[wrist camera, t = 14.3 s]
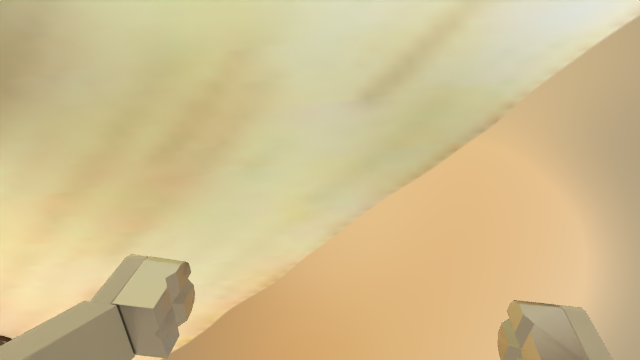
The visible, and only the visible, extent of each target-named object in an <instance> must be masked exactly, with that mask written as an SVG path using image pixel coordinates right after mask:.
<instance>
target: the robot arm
mask: <svg viewBox="0 0 640 360" xmlns="http://www.w3.org/2000/svg"><path fill="white" fill-rule="evenodd" d="M190 273H191V270H190V266H189V263H187V262H184V261H178V260H171V259H164V258H157V257H148V256H141V255H134V254H131V255H129V256H128V257H126V258H125V259H124V260H123V261H122V263H121V264H120V265H119V266H118V268H117V269H116V270H115V271H114V273H113V274H112V275H111V276H110V277H109V279H108V280H107V281H106V282H105V284H104V285H103V286H102V287H101V289H100V290H99V291H98V292H97V293H96V295H95V296H94V297H93V298H92V300H91V301H83V302H81V303H79V304H78V305H76V306H74V307H72V308H70V309H68V310H66V311H65V312H63V313H61V314H59V315H57V316H55V317H53V318H52V319H50V320H48V321H46V322H44V323H42V324H40V325H38V326H37V327H35V328H33V329H31V330H29V331H27V332H25V333H24V334H22V335H20V336H18V337H16V338H14V339H12V340H10V341H9V342H7V343H5V344H3V345H1V346H0V360H131V359H132V358H134V357H135V356H134V355H142V356H151V357H160V358H168V356H169V354H170V352H171V351H172V349H173V347H174V345H175V343H176V341H177V339H178V337H179V332H178V326H180V325H181V324H183V323H184V322H185V321H187V319H188V317H189V315H190V313H191V311H192V307H193V303H194V296H195V291H194V285H193V284H192V283H191V282H190V281H189V280H188V277H189V275H190ZM507 313H508V315H509V319H508V320H506V321H504V322H503V323H502V324H501V326H500V329H499V332H498V351H499V355H500V358H501V360H613V358H612V357H611V355H610V353H609V352H608V350H607V348H606V346H605V344H604V343H603V341H602V339H601V337H600V336H599V334H598V332H597V330H596V329H595V327H594V325H593V323H592V322H591V320H590V318H589V316H588V314H587V313H586V311H585V310H583V309H582V308H580V307H571V306H562V305H554V304H544V303H536V302H525V301H517V300H514V301H512V302H511V303H510V305H509V307H508V309H507Z"/></svg>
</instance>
